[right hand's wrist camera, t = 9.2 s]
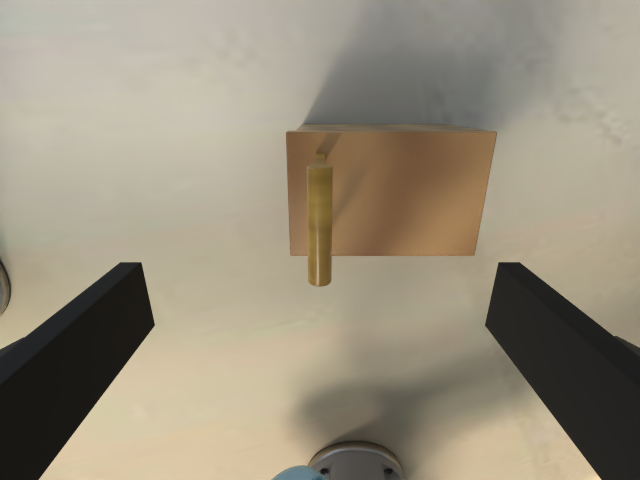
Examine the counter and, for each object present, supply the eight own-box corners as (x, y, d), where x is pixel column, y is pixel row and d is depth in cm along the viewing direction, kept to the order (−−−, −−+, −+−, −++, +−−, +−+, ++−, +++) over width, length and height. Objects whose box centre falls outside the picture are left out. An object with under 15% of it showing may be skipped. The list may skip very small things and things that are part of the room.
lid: (291, 250, 29) (280, 305, 21) (287, 130, 25) (272, 142, 17) (468, 250, 29) (525, 305, 21) (489, 130, 25) (568, 142, 17)
